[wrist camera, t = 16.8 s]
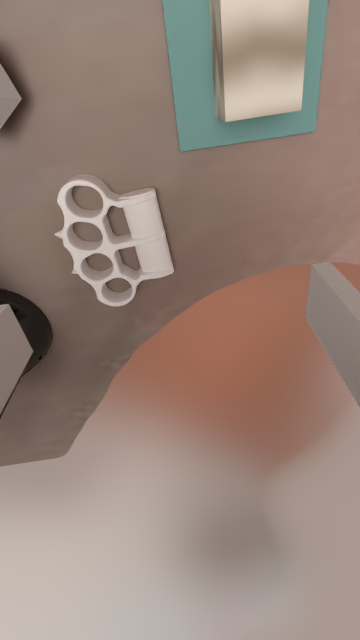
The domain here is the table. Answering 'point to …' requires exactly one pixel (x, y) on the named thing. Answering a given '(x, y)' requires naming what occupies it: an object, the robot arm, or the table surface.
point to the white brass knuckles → (116, 238)
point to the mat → (198, 90)
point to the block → (257, 56)
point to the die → (7, 97)
